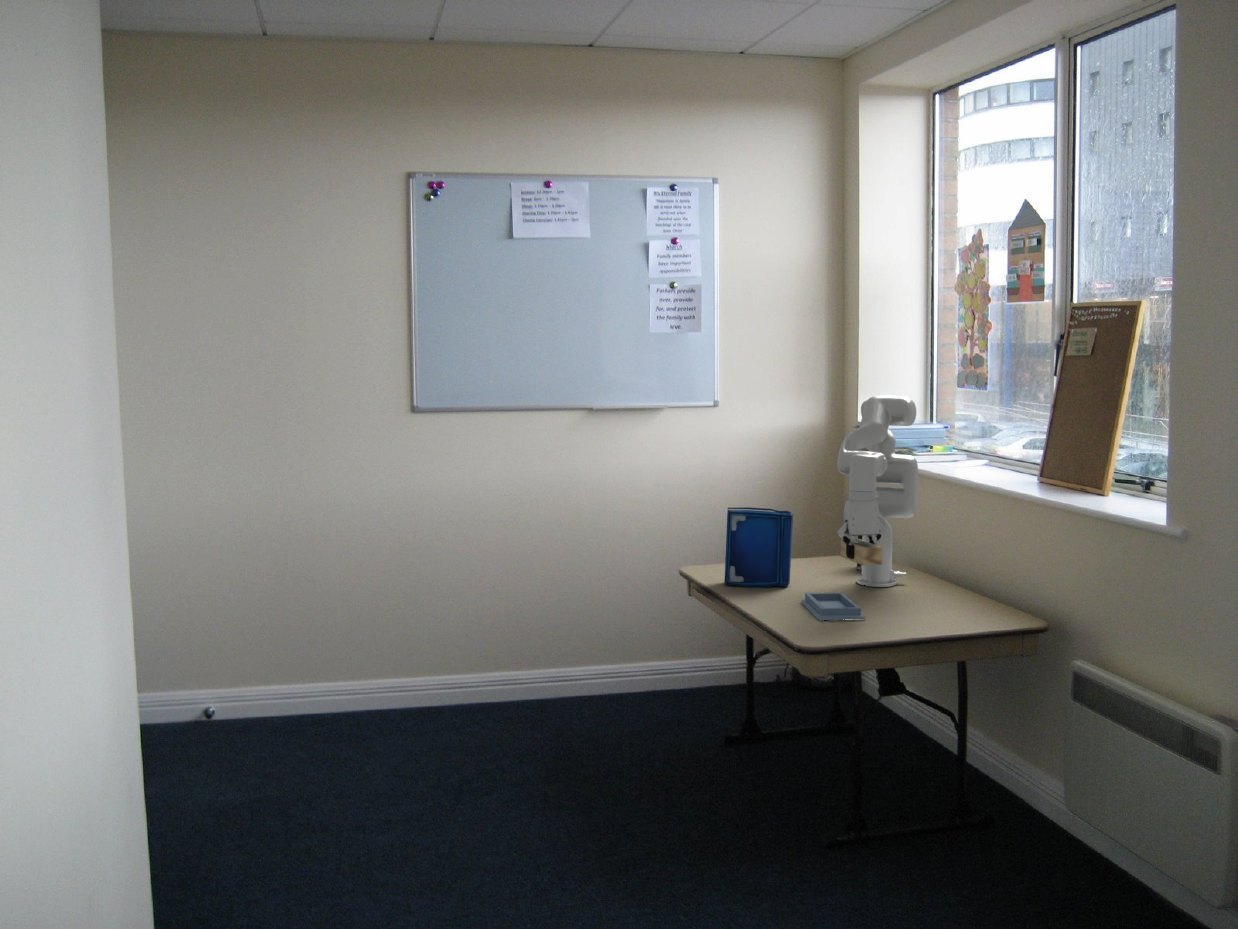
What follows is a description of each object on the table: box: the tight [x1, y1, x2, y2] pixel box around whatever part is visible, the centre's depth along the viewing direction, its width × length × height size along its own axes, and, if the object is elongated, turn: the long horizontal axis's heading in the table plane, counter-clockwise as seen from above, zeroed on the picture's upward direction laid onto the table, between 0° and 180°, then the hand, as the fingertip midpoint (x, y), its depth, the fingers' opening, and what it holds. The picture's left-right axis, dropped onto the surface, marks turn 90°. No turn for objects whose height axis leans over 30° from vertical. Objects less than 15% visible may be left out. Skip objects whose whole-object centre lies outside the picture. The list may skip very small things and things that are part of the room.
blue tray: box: [800, 592, 866, 622], centre depth 320 cm, size 13×22×3 cm, turn 4°
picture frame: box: [840, 538, 882, 565], centre depth 320 cm, size 6×14×5 cm, turn 16°
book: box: [723, 506, 794, 588], centre depth 353 cm, size 22×7×25 cm, turn 84°
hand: (860, 556), depth 320 cm, fingers closed on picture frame, 6 cm apart
